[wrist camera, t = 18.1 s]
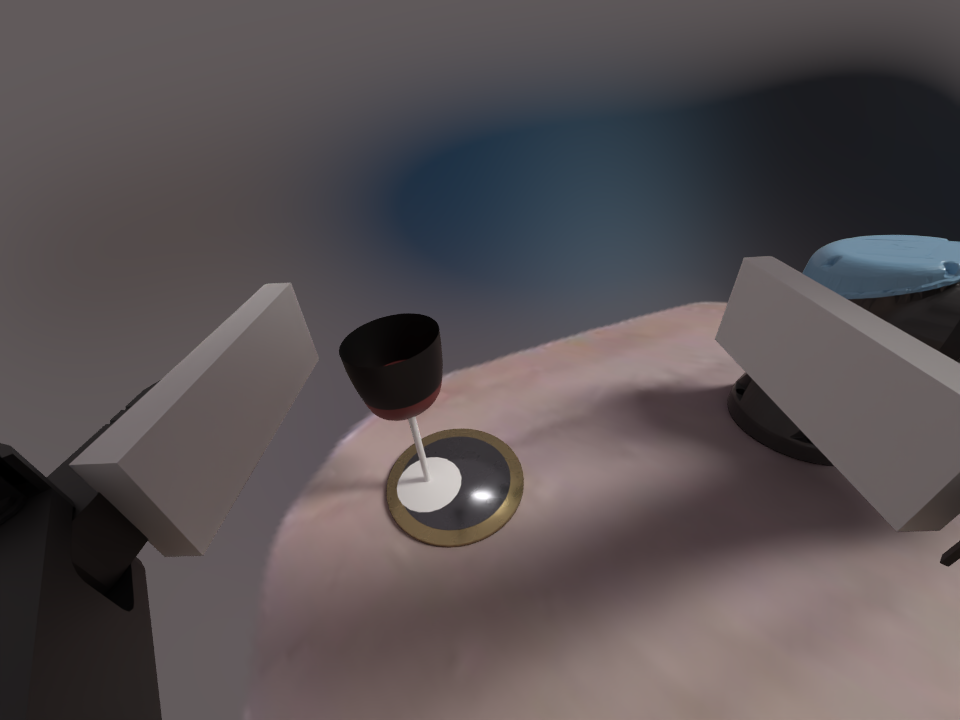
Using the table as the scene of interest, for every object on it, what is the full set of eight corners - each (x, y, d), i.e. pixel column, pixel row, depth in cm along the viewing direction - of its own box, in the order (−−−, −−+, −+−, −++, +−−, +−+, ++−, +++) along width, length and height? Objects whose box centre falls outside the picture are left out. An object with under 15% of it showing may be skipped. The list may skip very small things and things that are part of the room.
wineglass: (379, 486, 44) (322, 343, 33) (437, 443, 49) (405, 305, 37) (419, 531, 39) (369, 381, 28) (479, 478, 44) (458, 331, 32)
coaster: (493, 418, 53) (492, 414, 53) (548, 514, 41) (548, 511, 41) (378, 452, 49) (377, 449, 49) (401, 571, 37) (400, 568, 36)
